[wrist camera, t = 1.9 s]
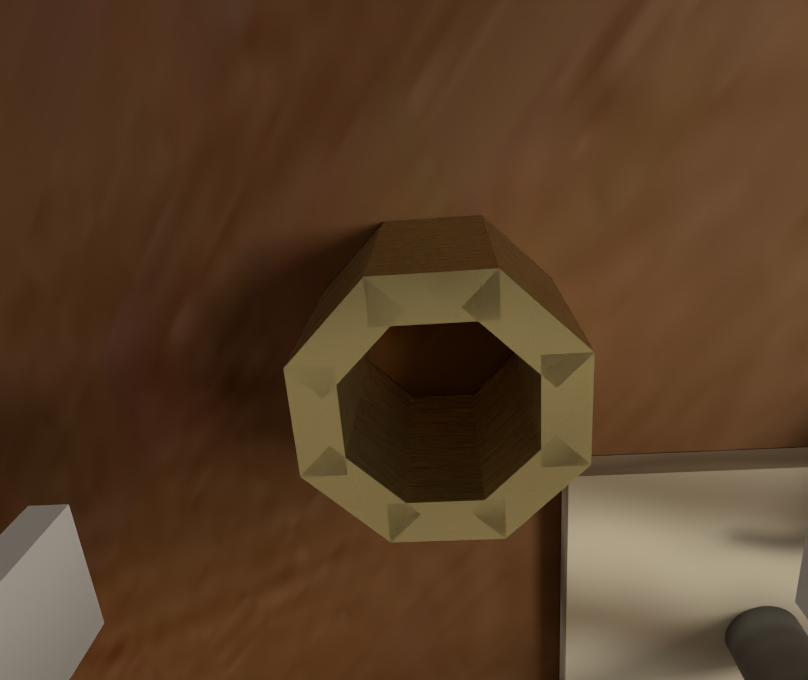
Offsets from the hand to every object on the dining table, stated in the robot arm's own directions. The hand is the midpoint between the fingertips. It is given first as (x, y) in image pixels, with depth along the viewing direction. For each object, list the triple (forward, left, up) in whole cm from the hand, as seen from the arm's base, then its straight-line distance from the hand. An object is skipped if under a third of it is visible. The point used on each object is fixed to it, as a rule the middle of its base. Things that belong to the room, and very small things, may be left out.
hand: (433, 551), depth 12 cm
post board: (+12, +11, -10) cm, 19 cm away
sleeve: (0, 0, -10) cm, 10 cm away
